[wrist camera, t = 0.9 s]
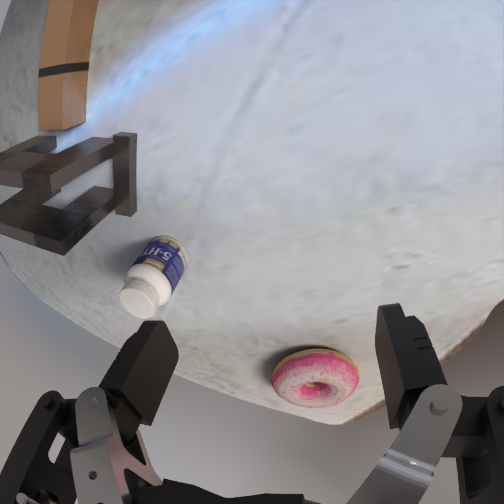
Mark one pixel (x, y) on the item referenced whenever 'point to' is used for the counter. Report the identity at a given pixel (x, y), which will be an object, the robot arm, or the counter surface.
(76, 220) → the dark two-tier wooden rack
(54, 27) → the tall wooden block
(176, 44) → the counter surface
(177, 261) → the pill bottle
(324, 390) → the donut
